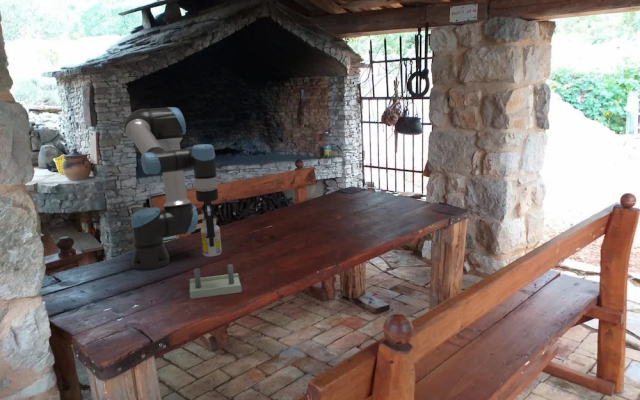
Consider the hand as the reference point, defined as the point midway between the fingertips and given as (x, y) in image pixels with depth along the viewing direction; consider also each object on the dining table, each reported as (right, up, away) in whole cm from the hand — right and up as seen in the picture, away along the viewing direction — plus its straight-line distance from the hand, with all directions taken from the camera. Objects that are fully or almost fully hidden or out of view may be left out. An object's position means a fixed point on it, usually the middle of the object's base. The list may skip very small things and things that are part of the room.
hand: (212, 251), depth 180 cm
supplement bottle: (0, -1, 0) cm, 1 cm away
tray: (0, -14, +4) cm, 15 cm away
